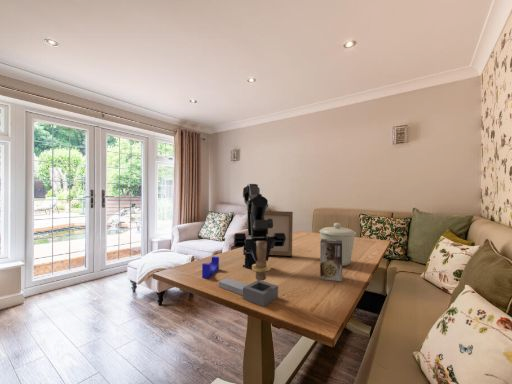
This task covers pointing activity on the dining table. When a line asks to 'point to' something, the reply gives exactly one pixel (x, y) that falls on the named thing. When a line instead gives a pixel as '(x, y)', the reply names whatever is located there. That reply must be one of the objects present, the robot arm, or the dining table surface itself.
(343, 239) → the canister
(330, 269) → the coffee box
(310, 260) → the dining table surface
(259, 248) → the walnut pin
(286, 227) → the photo frame
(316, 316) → the dining table surface
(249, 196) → the robot arm
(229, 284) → the hitch block
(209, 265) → the blue arched block
